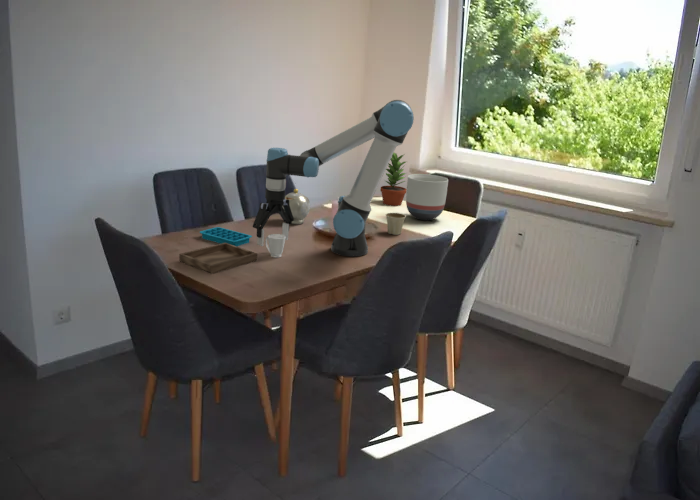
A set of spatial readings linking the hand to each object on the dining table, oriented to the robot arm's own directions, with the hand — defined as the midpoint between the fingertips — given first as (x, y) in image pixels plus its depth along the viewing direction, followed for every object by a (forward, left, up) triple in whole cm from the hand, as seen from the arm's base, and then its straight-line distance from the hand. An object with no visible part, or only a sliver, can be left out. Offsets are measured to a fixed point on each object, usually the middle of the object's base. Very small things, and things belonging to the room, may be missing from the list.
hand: (272, 242), depth 234 cm
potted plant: (+21, -116, -5) cm, 118 cm away
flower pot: (-14, -65, -5) cm, 67 cm away
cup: (0, 0, -5) cm, 5 cm away
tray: (+8, +21, -5) cm, 23 cm away
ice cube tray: (+27, +1, -6) cm, 27 cm away
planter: (-9, -100, -5) cm, 101 cm away
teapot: (+28, -44, -5) cm, 52 cm away
